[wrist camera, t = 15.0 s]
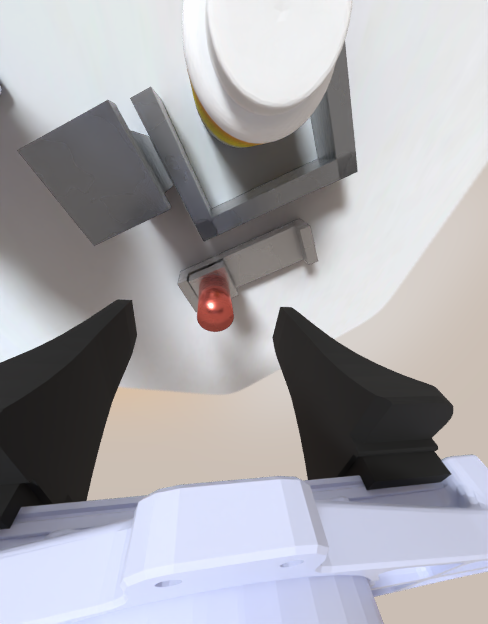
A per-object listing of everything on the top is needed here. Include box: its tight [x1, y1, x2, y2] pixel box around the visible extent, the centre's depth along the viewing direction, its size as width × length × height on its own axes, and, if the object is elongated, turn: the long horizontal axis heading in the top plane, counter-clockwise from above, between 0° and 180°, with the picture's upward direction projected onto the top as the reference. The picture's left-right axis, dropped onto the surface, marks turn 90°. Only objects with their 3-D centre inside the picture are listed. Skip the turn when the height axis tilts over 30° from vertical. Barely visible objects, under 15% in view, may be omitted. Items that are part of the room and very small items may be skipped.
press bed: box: [17, 41, 357, 246], centre depth 13 cm, size 15×8×8 cm, turn 112°
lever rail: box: [178, 219, 318, 312], centre depth 20 cm, size 11×3×2 cm, turn 112°
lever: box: [189, 261, 238, 332], centre depth 18 cm, size 3×3×5 cm
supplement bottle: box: [182, 0, 352, 148], centre depth 10 cm, size 6×6×10 cm
